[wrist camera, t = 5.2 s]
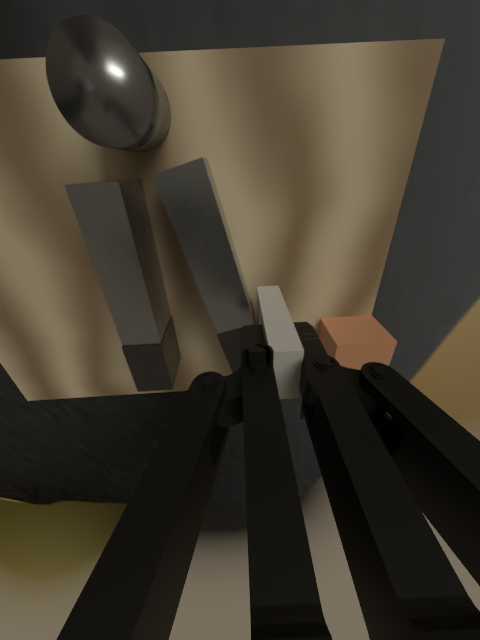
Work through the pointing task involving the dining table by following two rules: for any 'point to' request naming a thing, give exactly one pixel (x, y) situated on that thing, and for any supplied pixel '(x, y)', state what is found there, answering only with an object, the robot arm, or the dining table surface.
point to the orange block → (356, 340)
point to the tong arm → (208, 250)
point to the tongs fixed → (118, 185)
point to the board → (234, 191)
